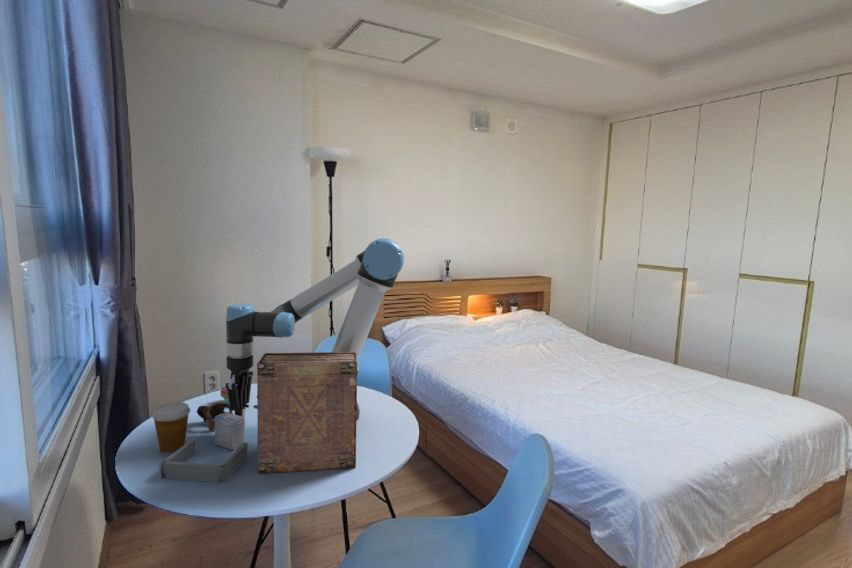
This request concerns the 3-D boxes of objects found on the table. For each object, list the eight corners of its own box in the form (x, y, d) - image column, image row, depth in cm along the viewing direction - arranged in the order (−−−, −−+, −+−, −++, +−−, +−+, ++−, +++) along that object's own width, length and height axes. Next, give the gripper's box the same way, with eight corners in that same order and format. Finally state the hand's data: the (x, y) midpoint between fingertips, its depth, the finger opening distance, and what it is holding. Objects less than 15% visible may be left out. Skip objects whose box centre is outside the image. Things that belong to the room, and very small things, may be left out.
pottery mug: (238, 418, 149) (239, 402, 145) (225, 441, 141) (226, 425, 137) (202, 409, 148) (203, 393, 144) (187, 432, 140) (187, 415, 136)
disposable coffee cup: (150, 458, 120) (148, 416, 119) (155, 443, 129) (154, 403, 128) (189, 452, 124) (188, 412, 123) (192, 438, 133) (191, 400, 132)
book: (354, 452, 128) (357, 351, 125) (355, 468, 119) (358, 361, 116) (263, 456, 124) (263, 352, 120) (257, 474, 115) (257, 362, 111)
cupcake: (225, 399, 164) (225, 368, 163) (249, 399, 165) (248, 368, 164) (217, 408, 156) (216, 375, 154) (242, 408, 157) (241, 375, 155)
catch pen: (247, 456, 124) (247, 442, 123) (223, 482, 110) (223, 467, 110) (191, 452, 124) (191, 439, 124) (161, 478, 111) (160, 463, 111)
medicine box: (245, 445, 130) (245, 417, 129) (232, 451, 126) (232, 422, 125) (227, 438, 134) (227, 411, 133) (214, 444, 130) (214, 416, 129)
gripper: (238, 348, 141) (238, 419, 143) (216, 360, 128) (217, 437, 130) (261, 350, 140) (261, 421, 143) (241, 361, 127) (241, 439, 130)
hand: (240, 429), depth 136 cm, fingers closed
